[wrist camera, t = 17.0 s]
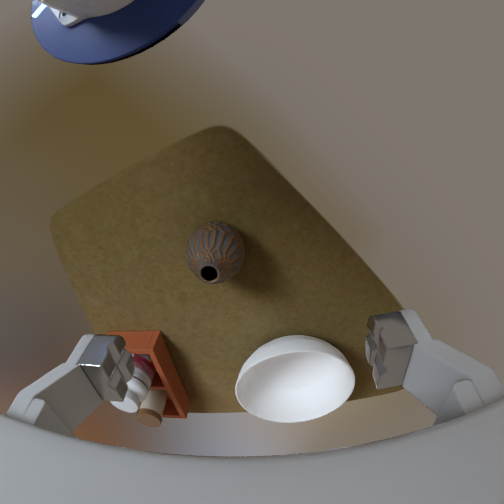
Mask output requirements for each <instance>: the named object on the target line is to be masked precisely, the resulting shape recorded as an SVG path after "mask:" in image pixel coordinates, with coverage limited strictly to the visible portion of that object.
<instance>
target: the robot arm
mask: <svg viewBox="0 0 504 504" xmlns="http://www.w3.org/2000/svg"><path fill="white" fill-rule="evenodd" d="M37 1H39V2H41V3H42V4H41V5H40V7H39V8H38V9H37V10H36V11H35V13H34V14H33V15H32V17H35V18H36V17H37V16H38V15H39V14H40V13H41V11H42V10H43V9H44V8H45V7H46V6H49V8H50V9H51V11H52V12H53V13H54V15H55V16H56V17H57V19H58V20H59V21H60V23H61V24H62V25H64V26H66V27H70V26H73V25H75V24H77V23H79V22H80V21H82V20H84V19H86V18H90V17H98V16H103V15H107V14H110V13H113V12H115V11H117V10H119V9H121V8H123V7H125V6H127V5H128V4H130V3H131V2H133V1H134V0H37ZM65 14H66V15H65ZM367 327H368V329H369V332H370V333H369V334H368V335H367V336H366V342H365V349H366V356H367V360H368V363H369V365H371V366H372V367H373V372H372V375H373V378H374V381H375V384H376V387H377V390H378V389H384V388H389V387H394V386H399V385H402V387H403V388H405V389H406V390H407V391H408V392H409V393H411V394H412V395H413V396H414V397H415V398H417V399H418V400H419V401H420V402H422V403H423V404H424V405H425V406H426V407H427V408H429V409H430V410H431V411H432V412H433V413H434V414H436V415H437V416H438V417H437V419H436V420H435V422H434V424H433V425H432V427H429V428H425V429H422V430H419V431H415V432H412V433H408V434H404V435H400V436H397V437H392V438H388V439H384V440H380V441H375V442H370V443H366V444H361V445H355V446H350V447H344V448H338V449H332V450H324V451H317V452H308V453H298V454H287V455H272V456H249V457H248V456H247V457H217V456H193V455H179V454H167V453H158V452H149V451H142V450H135V449H129V448H122V447H116V446H111V445H106V444H101V443H96V442H92V441H87V440H83V439H79V438H77V437H76V436H75V435H74V434H73V433H72V432H73V431H74V430H75V429H76V428H77V427H78V426H79V425H80V424H81V423H82V422H83V421H84V420H85V419H86V418H87V417H88V416H89V415H90V414H91V413H92V412H93V411H94V410H95V409H96V408H97V407H98V406H99V405H100V404H101V403H102V402H103V400H106V401H117V402H123V401H124V398H125V396H126V393H127V391H128V385H127V382H128V381H130V380H131V379H132V378H133V375H134V373H135V362H134V358H133V356H132V354H131V353H130V352H129V351H128V350H126V349H125V347H126V342H125V340H124V338H123V337H122V336H120V335H101V334H97V335H95V334H86V335H83V336H82V338H81V340H80V341H79V343H78V344H77V346H76V347H75V349H74V350H73V352H72V354H71V355H70V357H69V358H68V360H67V362H66V363H62V364H61V365H59V366H58V367H56V368H54V369H53V370H51V371H50V372H49V373H47V374H45V375H44V376H42V377H41V378H40V379H38V380H37V381H35V382H34V383H32V384H31V385H29V386H28V387H26V388H25V389H23V390H22V391H20V392H19V393H18V395H17V396H16V398H15V399H14V401H13V403H12V405H11V406H10V408H9V410H8V411H7V413H6V415H3V414H1V413H0V504H504V386H503V384H502V383H501V381H500V380H499V378H498V376H497V375H496V373H495V371H494V370H493V368H491V367H489V366H487V365H485V364H483V363H482V362H480V361H478V360H476V359H474V358H472V357H470V356H469V355H467V354H465V353H463V352H461V351H459V350H457V349H455V348H453V347H452V346H450V345H448V344H446V343H444V342H442V341H440V340H439V339H435V340H433V338H432V336H431V335H430V333H429V331H428V330H427V328H426V326H425V325H424V323H423V322H422V320H421V319H420V317H419V315H418V314H417V312H416V311H415V309H413V308H410V309H405V310H400V311H396V312H391V313H385V314H379V315H373V316H369V319H368V324H367Z"/></svg>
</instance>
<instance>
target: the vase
mask: <svg viewBox="0 0 504 504" xmlns="http://www.w3.org/2000/svg"><path fill="white" fill-rule="evenodd" d="M186 257H187V262H188V266H189V268H190V270H191V271H192V273H193V274H194V275H195V276H196V277H197V278H199V279H200V280H202V281H203V282H205V283H209V284H217V283H223V282H225V281H228V280H229V279H231V278H232V277H233V276H235V275H236V273H237V272H238V271H239V270H240V268H241V266H242V264H243V261H244V257H245V246H244V242H243V239H242V237H241V235H240V234H239V232H238V231H237V230H236V229H235V228H234V227H232V226H231V225H229V224H227V223H224V222H217V221H216V222H209V223H206V224H204V225H202V226H201V227H199V228H198V229H197V230H196V231H195V232H194V233H193V234H192V236H191V238H190V239H189V242H188V245H187V250H186Z"/></svg>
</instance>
